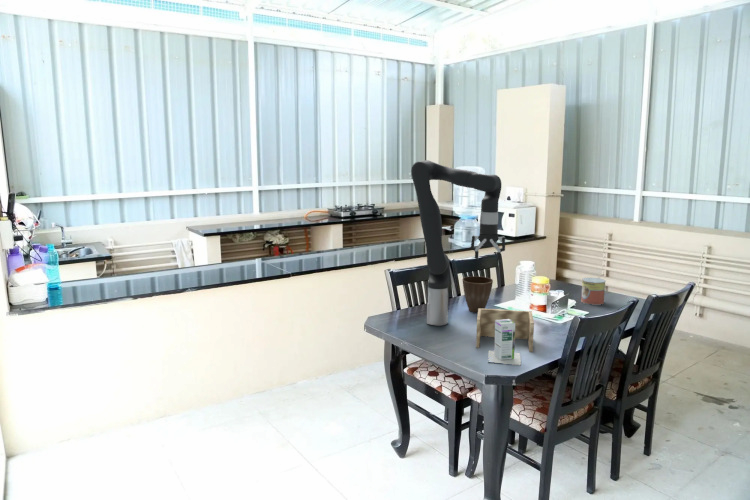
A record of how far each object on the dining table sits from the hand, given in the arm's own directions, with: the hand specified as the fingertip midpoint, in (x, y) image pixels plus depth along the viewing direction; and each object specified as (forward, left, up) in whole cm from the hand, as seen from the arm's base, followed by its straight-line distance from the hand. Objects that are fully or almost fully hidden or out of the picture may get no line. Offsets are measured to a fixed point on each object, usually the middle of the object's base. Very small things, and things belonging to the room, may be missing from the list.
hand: (487, 260), depth 223 cm
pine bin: (+8, -11, -33) cm, 35 cm away
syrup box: (+8, -27, -33) cm, 43 cm away
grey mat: (+8, -28, -33) cm, 44 cm away
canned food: (+54, +62, -33) cm, 89 cm away
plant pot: (-5, +34, -33) cm, 48 cm away
